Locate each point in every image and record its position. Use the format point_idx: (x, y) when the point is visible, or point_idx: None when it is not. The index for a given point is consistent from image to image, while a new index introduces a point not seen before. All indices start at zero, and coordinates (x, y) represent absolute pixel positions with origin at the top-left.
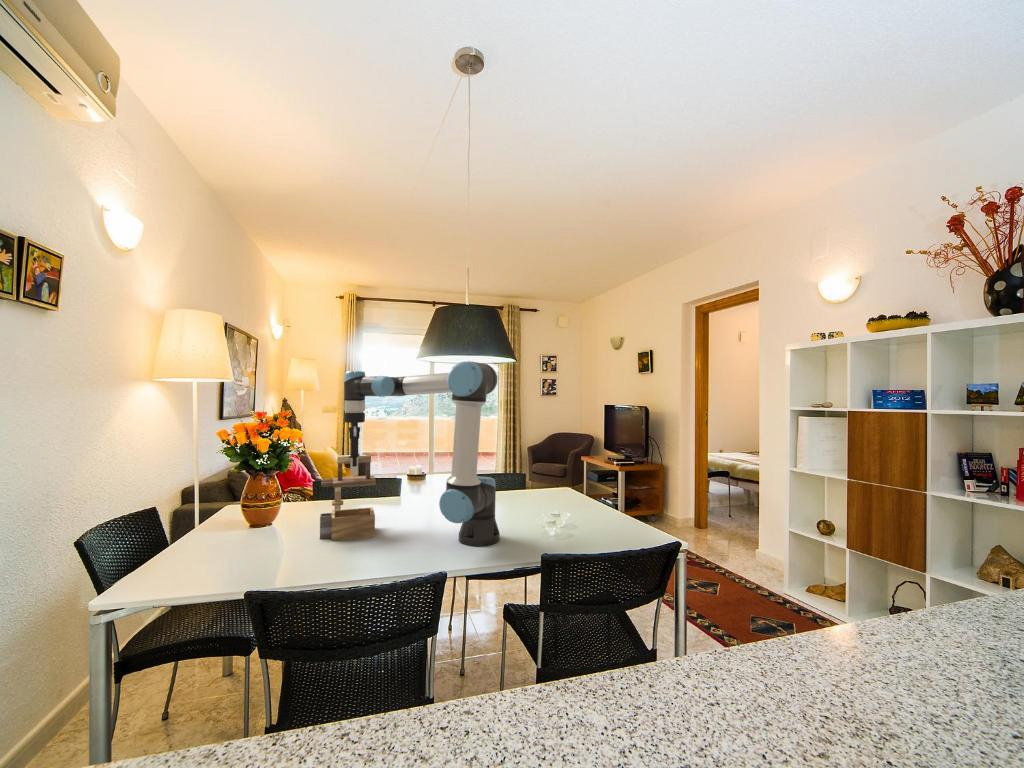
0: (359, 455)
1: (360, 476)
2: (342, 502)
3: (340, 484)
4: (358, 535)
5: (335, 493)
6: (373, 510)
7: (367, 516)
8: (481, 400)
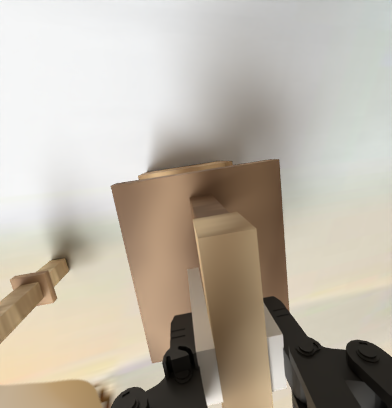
0: (188, 345)
1: (132, 251)
2: (44, 276)
3: (286, 305)
4: None
5: (25, 314)
6: (177, 170)
7: None
8: None
